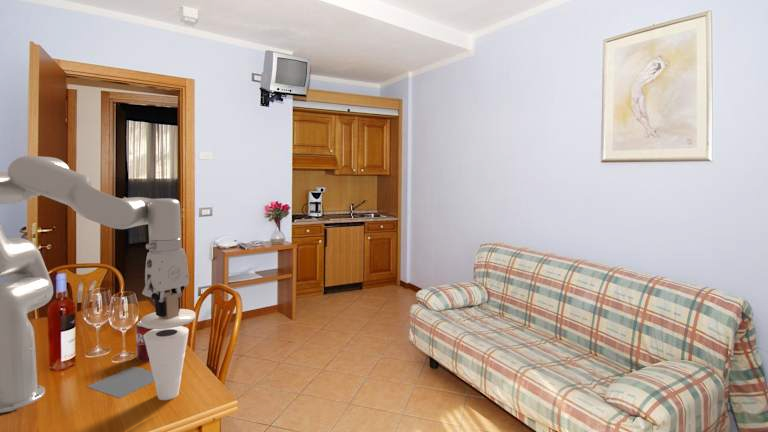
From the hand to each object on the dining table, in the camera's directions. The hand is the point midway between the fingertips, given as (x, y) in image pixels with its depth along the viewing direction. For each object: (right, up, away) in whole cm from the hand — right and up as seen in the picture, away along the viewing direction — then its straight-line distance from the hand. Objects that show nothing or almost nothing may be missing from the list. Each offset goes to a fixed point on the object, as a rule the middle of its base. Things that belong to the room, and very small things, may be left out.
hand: (167, 312), depth 112 cm
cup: (-1, -24, +2) cm, 24 cm away
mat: (-16, -22, +9) cm, 29 cm away
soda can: (-19, -21, +25) cm, 38 cm away
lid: (0, -2, 0) cm, 2 cm away
